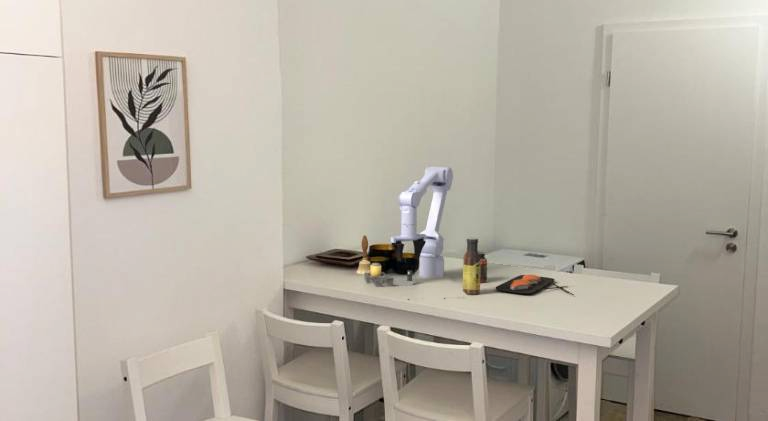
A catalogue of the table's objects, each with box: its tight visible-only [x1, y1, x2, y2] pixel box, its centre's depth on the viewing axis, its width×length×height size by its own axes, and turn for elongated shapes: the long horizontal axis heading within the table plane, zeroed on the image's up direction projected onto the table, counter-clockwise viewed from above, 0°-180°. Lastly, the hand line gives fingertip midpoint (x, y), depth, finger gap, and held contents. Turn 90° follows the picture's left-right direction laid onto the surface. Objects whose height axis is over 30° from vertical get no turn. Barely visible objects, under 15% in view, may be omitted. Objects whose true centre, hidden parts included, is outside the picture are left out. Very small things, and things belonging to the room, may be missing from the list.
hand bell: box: [355, 235, 372, 275], centre depth 298 cm, size 8×8×16 cm
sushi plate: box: [495, 274, 575, 296], centre depth 278 cm, size 29×30×4 cm
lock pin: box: [393, 270, 414, 286], centre depth 277 cm, size 8×2×5 cm, turn 99°
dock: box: [363, 271, 394, 288], centre depth 282 cm, size 17×17×4 cm
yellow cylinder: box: [371, 262, 382, 276], centre depth 283 cm, size 4×4×7 cm
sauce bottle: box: [462, 237, 481, 296], centre depth 269 cm, size 7×6×20 cm
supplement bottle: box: [478, 251, 488, 284], centre depth 289 cm, size 6×6×11 cm
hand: (408, 260), depth 279 cm, fingers open, 7 cm apart
